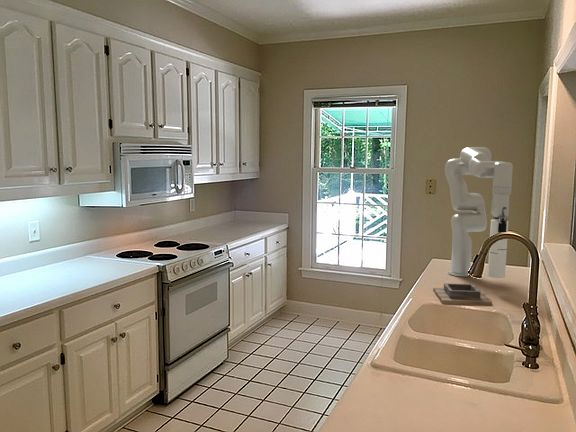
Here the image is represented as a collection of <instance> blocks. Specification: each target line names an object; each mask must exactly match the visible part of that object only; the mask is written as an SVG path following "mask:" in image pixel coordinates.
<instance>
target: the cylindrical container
mask: <svg viewBox="0 0 576 432" xmlns="http://www.w3.org/2000/svg"><path fill="white" fill-rule="evenodd" d="M501 220H502V218H501ZM509 221H510V220H508V219H507V226H506V232H508V233H509ZM498 224H499V219H493V218H492V219H490V229H489V230H490V231H489V232H490V233H489V238H490V237H491V236H493V235H495V234H497V233H499V232H498ZM507 248H508V239H503V240H499V241H497V242H496V243H494V244H493V245H492V246H491V248H490V250H489V249H488V264H487V276H488V277H490V278H495V279H503V278H505V277H506V267H507V266H506V265H507V250H508V249H507Z"/></svg>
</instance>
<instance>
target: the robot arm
mask: <svg viewBox="0 0 576 432" xmlns="http://www.w3.org/2000/svg"><path fill="white" fill-rule="evenodd" d="M513 169H514V166H513V163H512V162H509V161H508V162H507V161H504V160H503V161H501V160H492V152H491V150H490V149H489V148H488V147H486V146H485V147H484V146H469V147H468V146H467V147H465V148H463V149H462V150H461V152H460V154H459V158H458V157H457V158H451V159H449V160H447V161H446V163H445V167H444V175H445V178H446V181H447V183H448V185H449V192H450V194H449V195H450V201H451V206H452V209H453V211H456V212H459V213H456V214H454V215H452V217H451V220H450V226H451V236H452V238H451V262H450V263H451V264H450V269H448V270H447V274H448V275H450V276H455V277H463V278H464V277H470V276H469V275H468V270H469V268H470V267H471V268H472V266H471V265H472V246H473V244H472V243H473V241H472V240H473V239H472V238H471V236H470V235H469V233H472V232H473V233H476V232H478V233H479V232H480V233H481V232H484V231H485V230H486V229H487V226H488V219H487V212H486V205H485V200H484V197H483V195H482V194H480V193H479V192H478V193H477V192H469V191H468V184H467V183H466V181H465V180H464V178H463V177H461V176H474V177H476V178H479V179H492V189H491V190H492V191H491V194H492V198H491V206H490V215H491V216H493V217H492V219H499V224H498V232H499V233H501V232H506V226H507V220H508V217H509V214H510V213H509V212H510V195H511V194H512V186H513V185H512V184H513V183H512V182H513ZM460 175H461V176H460ZM460 212H461V213H460ZM462 212H464V213H462ZM469 212H470V213H469ZM471 212H472V213H471ZM501 219H502V220H501Z"/></svg>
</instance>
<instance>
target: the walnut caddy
mask: <svg viewBox="0 0 576 432" xmlns="http://www.w3.org/2000/svg"><path fill="white" fill-rule="evenodd" d="M432 292H433V293H434V294H435V295H436V298H438V300H439V301H440V303H441V304H443V305H472V306H473V305H474V306H493V300H491V299H490V298H489V297H488V296H487V295H486V294H485V293H484V292H483V291H482V289H480V288H478V287H476V285H474V284H473V283H443V287H435V286H434V287H433V288H432Z"/></svg>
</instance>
